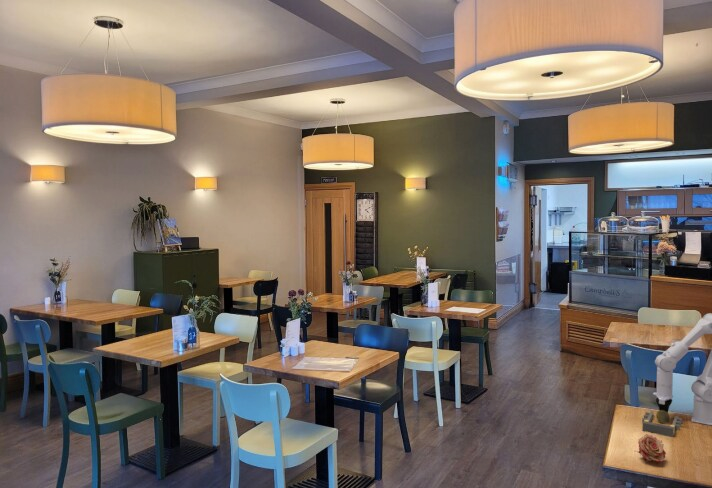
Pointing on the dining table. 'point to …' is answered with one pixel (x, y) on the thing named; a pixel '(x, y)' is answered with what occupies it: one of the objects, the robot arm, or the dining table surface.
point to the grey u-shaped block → (660, 425)
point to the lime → (662, 416)
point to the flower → (651, 448)
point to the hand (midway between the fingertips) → (663, 416)
